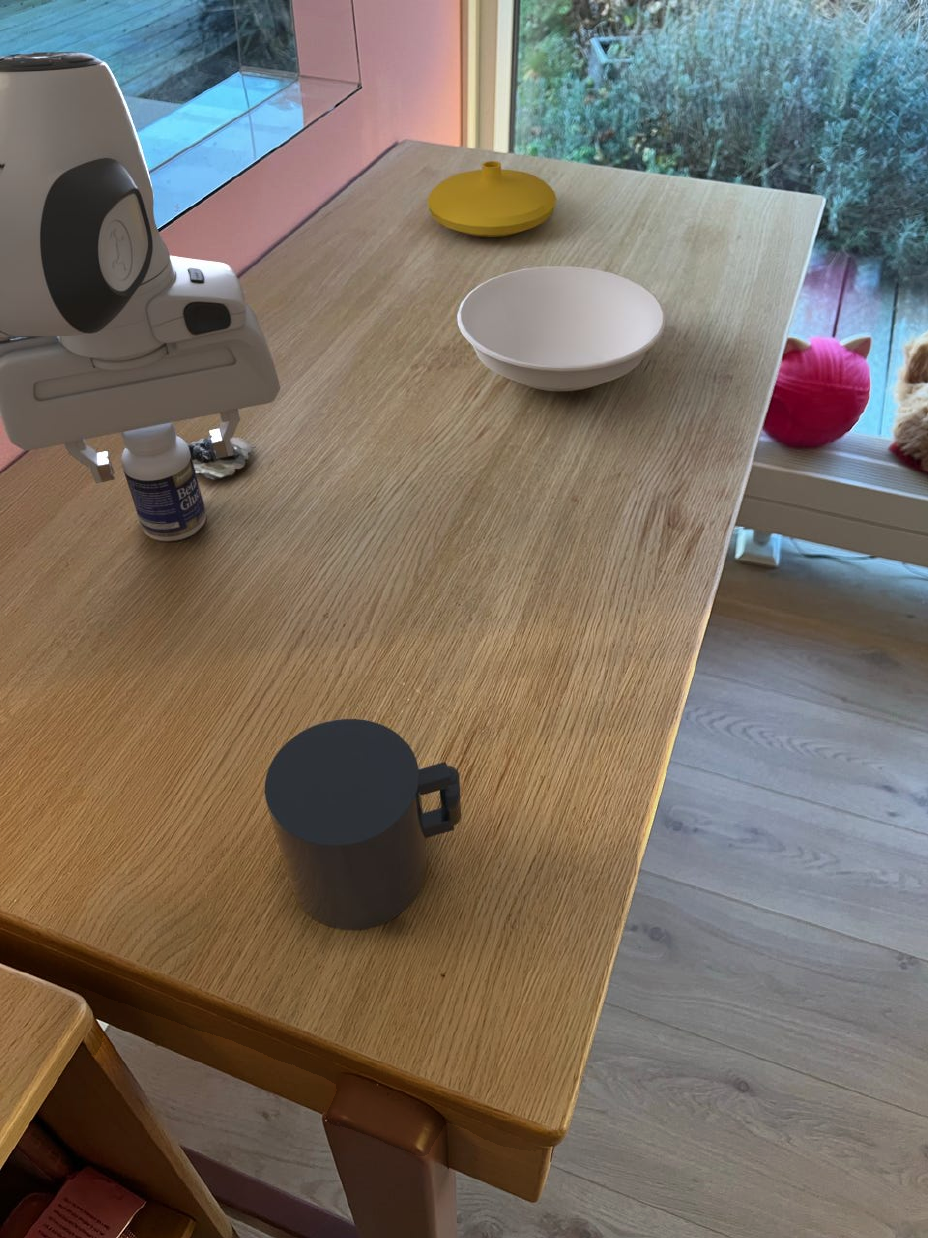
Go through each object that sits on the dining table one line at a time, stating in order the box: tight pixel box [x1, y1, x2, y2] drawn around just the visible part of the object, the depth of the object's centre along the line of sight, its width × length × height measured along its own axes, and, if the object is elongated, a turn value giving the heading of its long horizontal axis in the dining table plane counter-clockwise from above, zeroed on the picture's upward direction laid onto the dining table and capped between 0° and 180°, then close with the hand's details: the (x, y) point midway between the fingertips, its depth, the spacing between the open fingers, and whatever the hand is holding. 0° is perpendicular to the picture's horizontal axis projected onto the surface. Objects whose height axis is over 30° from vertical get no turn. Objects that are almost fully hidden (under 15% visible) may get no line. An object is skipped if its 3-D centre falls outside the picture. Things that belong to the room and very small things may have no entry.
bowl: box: [456, 265, 667, 392], centre depth 97 cm, size 20×20×6 cm
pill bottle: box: [120, 422, 207, 542], centre depth 81 cm, size 5×5×10 cm
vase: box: [427, 160, 557, 238], centre depth 122 cm, size 16×16×7 cm
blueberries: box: [186, 436, 257, 481], centre depth 90 cm, size 7×8×2 cm
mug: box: [264, 718, 462, 931], centre depth 58 cm, size 11×8×9 cm
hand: (165, 465), depth 80 cm, fingers open, 8 cm apart
